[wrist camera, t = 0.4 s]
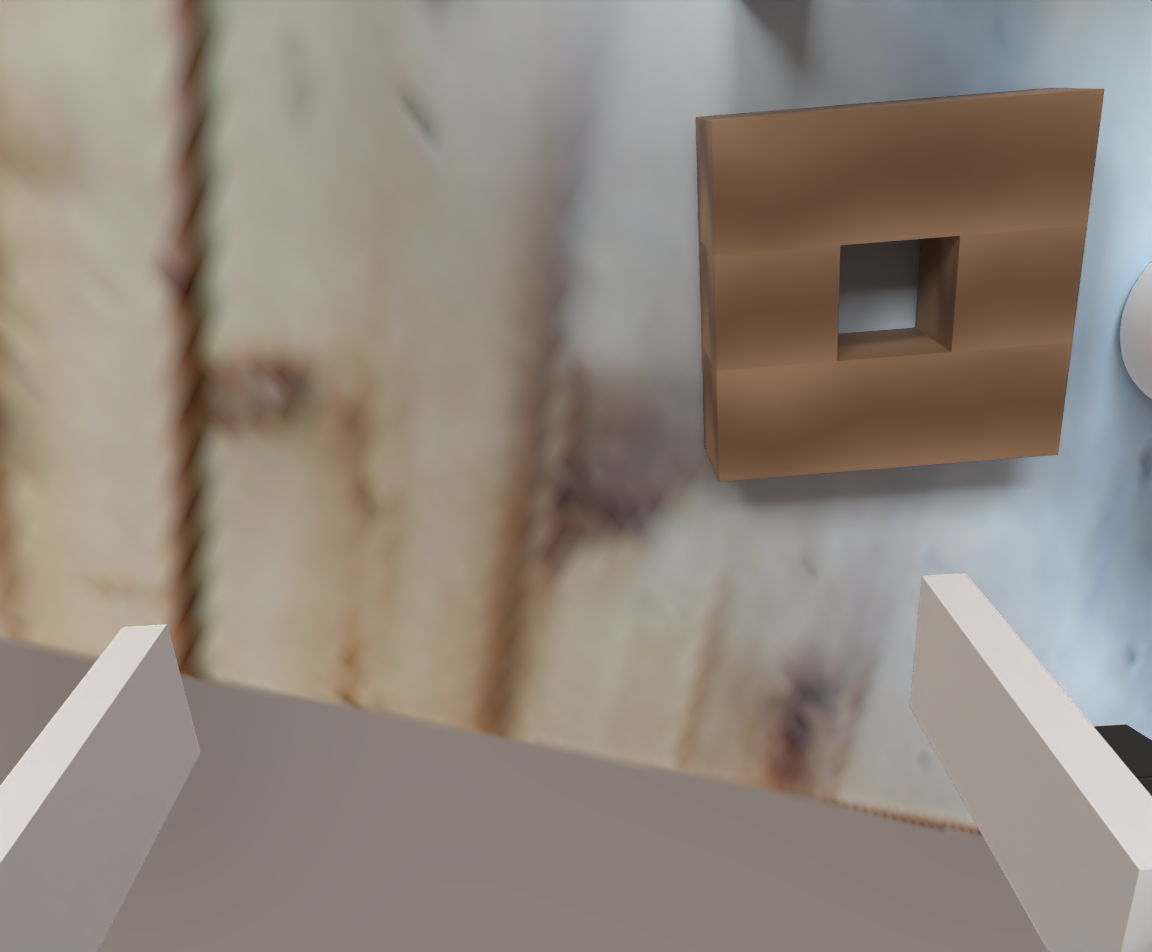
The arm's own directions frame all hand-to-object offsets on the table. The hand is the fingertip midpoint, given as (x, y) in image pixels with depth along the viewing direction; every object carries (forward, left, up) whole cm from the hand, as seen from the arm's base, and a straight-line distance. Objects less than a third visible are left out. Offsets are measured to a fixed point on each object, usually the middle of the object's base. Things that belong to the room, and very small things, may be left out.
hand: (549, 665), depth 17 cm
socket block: (-1, +13, -26) cm, 29 cm away
